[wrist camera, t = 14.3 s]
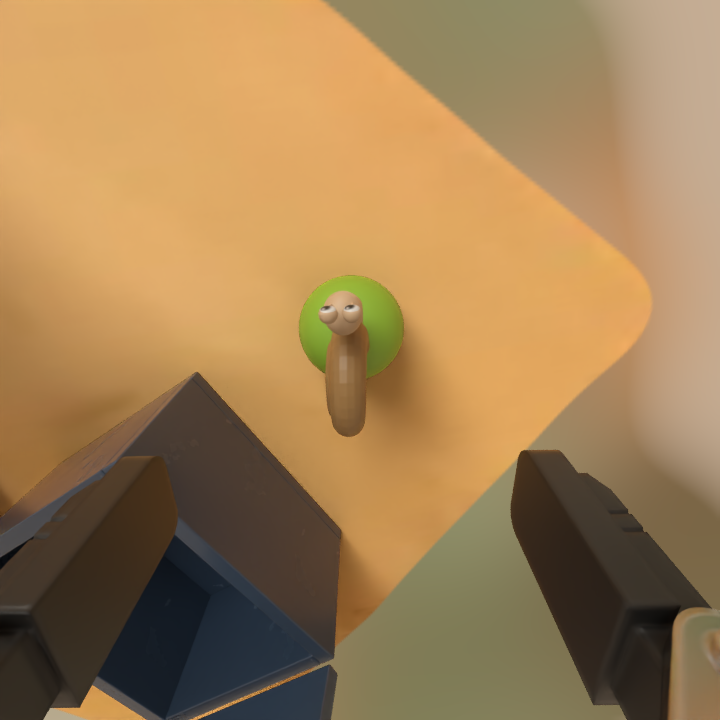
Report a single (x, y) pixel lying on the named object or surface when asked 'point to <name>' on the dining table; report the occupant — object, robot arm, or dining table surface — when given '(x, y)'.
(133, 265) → the dining table surface
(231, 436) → the compartment
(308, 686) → the lid
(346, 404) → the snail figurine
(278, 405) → the dining table surface
